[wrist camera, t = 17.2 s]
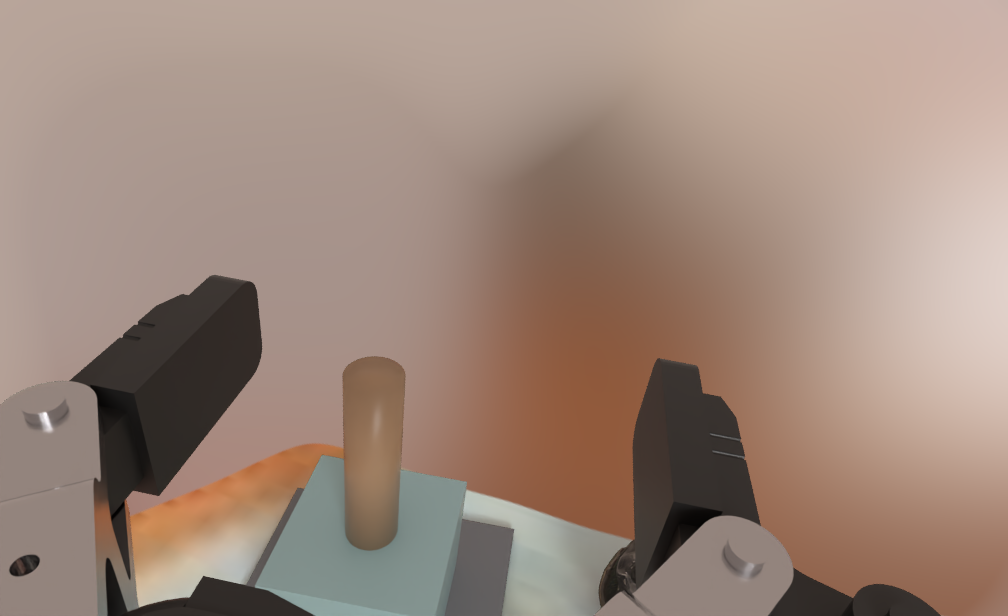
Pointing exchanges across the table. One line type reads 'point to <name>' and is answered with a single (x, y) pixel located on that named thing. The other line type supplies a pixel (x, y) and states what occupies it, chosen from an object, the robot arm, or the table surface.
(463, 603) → the mat
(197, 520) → the table surface
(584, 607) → the table surface
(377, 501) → the peg on square base
